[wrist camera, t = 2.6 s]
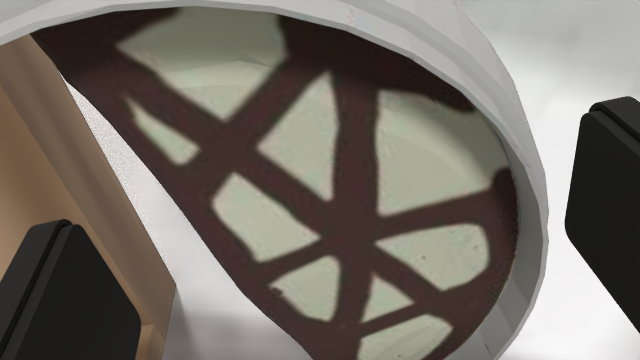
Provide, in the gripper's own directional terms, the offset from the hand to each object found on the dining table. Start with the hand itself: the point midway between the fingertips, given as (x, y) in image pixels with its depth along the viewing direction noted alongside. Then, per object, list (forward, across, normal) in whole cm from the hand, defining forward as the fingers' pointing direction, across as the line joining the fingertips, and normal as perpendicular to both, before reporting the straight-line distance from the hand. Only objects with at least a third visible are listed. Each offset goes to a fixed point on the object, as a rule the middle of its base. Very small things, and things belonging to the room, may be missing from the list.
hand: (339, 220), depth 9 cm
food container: (+9, -1, 0) cm, 9 cm away
